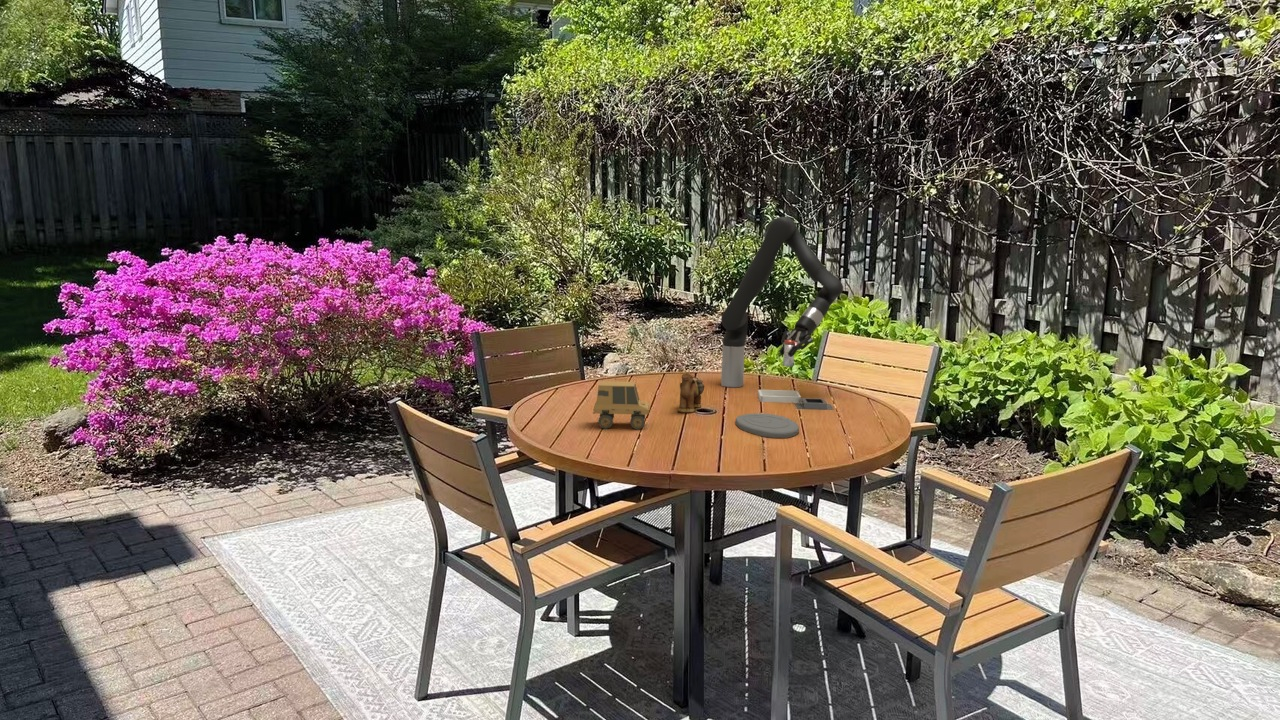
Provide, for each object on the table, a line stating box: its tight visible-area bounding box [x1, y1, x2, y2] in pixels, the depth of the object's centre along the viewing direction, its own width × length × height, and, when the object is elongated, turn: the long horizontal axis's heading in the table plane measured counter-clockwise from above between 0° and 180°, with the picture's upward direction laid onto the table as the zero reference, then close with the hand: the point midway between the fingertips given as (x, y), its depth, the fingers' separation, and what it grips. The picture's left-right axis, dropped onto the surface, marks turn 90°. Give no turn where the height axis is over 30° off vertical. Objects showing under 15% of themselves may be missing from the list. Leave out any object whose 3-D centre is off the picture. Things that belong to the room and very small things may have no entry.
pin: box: [782, 339, 795, 368], centre depth 339 cm, size 4×4×10 cm
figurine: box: [677, 372, 705, 414], centre depth 327 cm, size 9×15×15 cm, turn 159°
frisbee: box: [735, 412, 800, 439], centre depth 306 cm, size 20×27×3 cm
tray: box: [757, 389, 802, 404], centre depth 346 cm, size 16×12×3 cm
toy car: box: [593, 380, 650, 430], centre depth 304 cm, size 10×19×15 cm, turn 89°
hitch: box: [793, 397, 835, 411], centre depth 334 cm, size 14×9×3 cm, turn 87°
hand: (785, 354), depth 338 cm, fingers closed on pin, 4 cm apart
